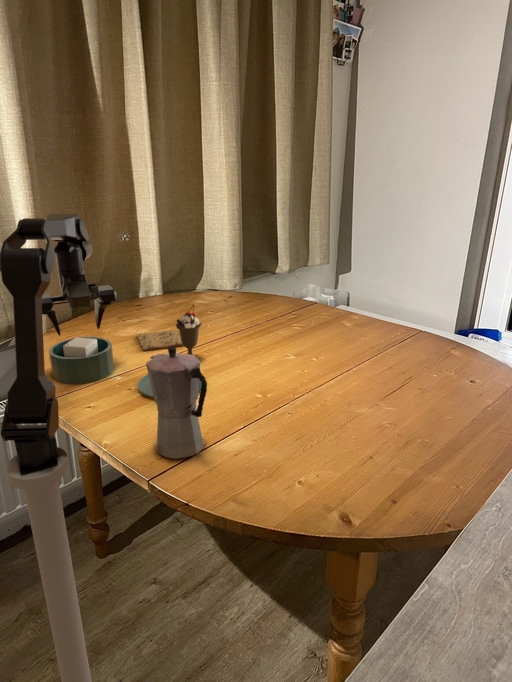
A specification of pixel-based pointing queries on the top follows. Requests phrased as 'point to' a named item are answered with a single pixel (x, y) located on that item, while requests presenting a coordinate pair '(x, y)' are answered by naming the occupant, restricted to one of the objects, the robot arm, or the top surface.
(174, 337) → the cookie
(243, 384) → the top surface
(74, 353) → the product box
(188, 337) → the sundae
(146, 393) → the lid
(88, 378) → the pot
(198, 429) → the moka pot
